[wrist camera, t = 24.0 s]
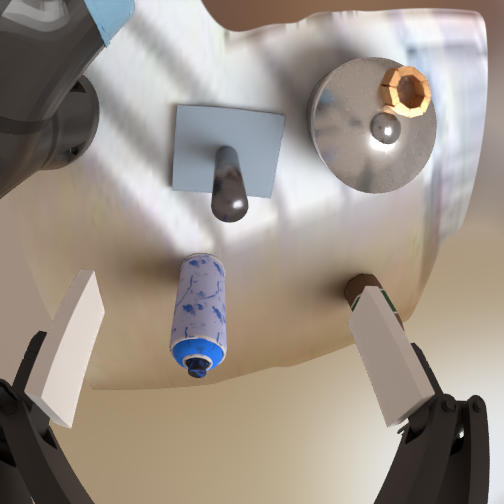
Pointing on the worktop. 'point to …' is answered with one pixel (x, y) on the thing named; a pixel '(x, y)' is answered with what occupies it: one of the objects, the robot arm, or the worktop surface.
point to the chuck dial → (374, 124)
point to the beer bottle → (356, 290)
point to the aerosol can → (200, 315)
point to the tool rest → (226, 134)
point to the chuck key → (228, 187)
